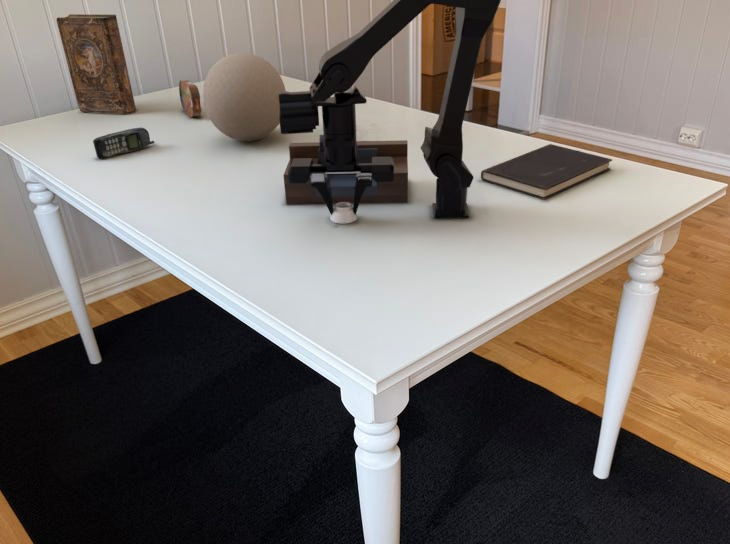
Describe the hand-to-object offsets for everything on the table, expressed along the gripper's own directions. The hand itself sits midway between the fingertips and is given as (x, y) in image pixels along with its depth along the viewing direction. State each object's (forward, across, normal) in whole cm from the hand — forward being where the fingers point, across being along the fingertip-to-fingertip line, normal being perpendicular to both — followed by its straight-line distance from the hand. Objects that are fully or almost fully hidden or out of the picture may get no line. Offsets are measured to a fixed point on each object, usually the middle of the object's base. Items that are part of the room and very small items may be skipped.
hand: (343, 214), depth 127 cm
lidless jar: (+1, 0, 0) cm, 1 cm away
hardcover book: (+1, -41, -22) cm, 47 cm away
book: (+1, +74, -81) cm, 110 cm away
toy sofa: (+1, 0, -14) cm, 14 cm away
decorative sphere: (+1, +27, -51) cm, 58 cm away
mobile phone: (+1, +56, -43) cm, 71 cm away
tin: (+1, +48, -76) cm, 90 cm away
